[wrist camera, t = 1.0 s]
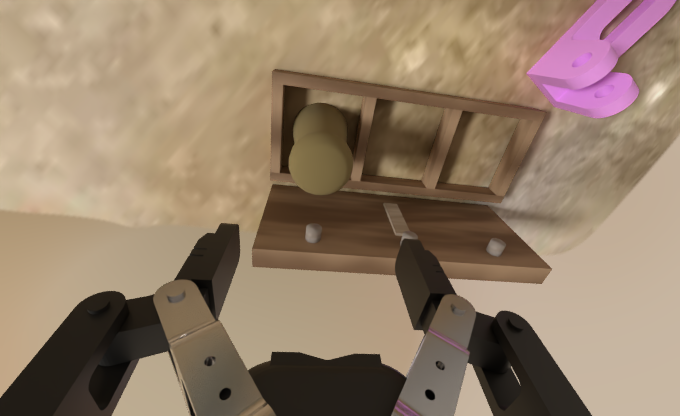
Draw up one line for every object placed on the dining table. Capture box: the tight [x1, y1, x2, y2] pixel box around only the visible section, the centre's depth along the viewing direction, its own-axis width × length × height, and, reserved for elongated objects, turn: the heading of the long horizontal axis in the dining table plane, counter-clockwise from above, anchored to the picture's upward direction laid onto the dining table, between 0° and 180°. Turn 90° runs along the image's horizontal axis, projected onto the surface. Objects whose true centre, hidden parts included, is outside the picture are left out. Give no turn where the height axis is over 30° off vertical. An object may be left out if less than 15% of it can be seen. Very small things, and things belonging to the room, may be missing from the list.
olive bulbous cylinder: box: [289, 103, 353, 195], centre depth 26 cm, size 6×6×11 cm
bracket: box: [526, 0, 676, 118], centre depth 24 cm, size 13×6×7 cm, turn 143°
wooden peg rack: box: [252, 69, 552, 284], centre depth 27 cm, size 14×28×12 cm, turn 82°
